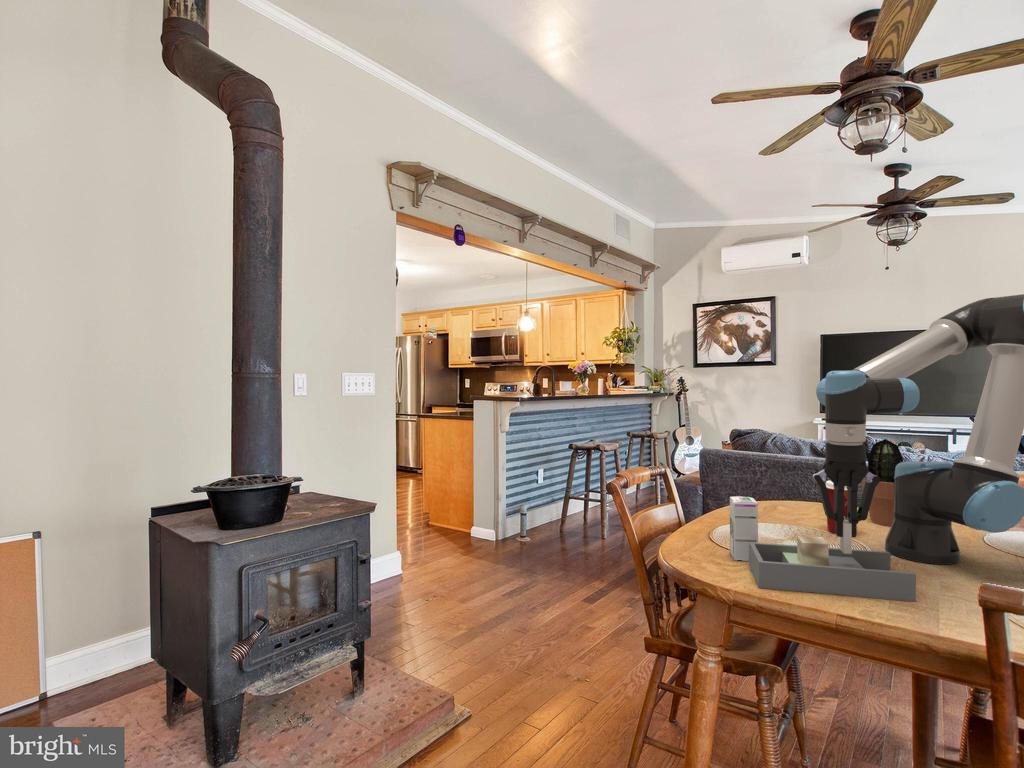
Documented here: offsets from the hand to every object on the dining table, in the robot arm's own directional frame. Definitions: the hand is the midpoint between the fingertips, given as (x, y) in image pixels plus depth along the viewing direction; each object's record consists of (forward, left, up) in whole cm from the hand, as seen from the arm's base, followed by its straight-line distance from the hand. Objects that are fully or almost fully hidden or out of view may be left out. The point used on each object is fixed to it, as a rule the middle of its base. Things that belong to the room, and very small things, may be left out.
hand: (845, 551), depth 123 cm
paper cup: (-10, -41, -7) cm, 43 cm away
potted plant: (-27, -55, -7) cm, 62 cm away
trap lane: (+4, 0, -7) cm, 8 cm away
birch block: (+7, 0, -3) cm, 7 cm away
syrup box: (+19, -12, -7) cm, 24 cm away
